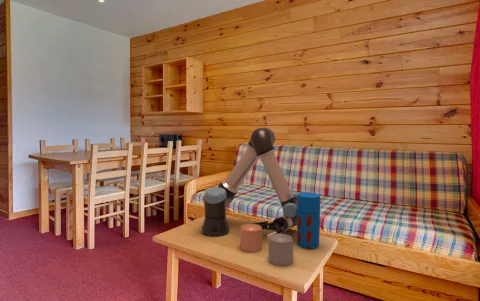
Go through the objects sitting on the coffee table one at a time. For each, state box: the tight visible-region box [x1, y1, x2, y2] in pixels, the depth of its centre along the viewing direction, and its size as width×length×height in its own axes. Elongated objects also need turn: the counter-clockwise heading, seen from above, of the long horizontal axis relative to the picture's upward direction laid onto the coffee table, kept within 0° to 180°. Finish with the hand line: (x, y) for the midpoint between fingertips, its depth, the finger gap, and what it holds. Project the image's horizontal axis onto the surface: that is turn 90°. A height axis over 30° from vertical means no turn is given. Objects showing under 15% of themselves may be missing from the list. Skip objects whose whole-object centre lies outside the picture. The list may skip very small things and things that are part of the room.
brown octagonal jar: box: [267, 233, 294, 267], centre depth 127 cm, size 10×10×10 cm
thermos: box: [296, 192, 321, 250], centre depth 143 cm, size 11×11×25 cm
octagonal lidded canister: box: [240, 223, 263, 253], centre depth 140 cm, size 10×10×10 cm
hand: (256, 234), depth 141 cm, fingers open, 13 cm apart
